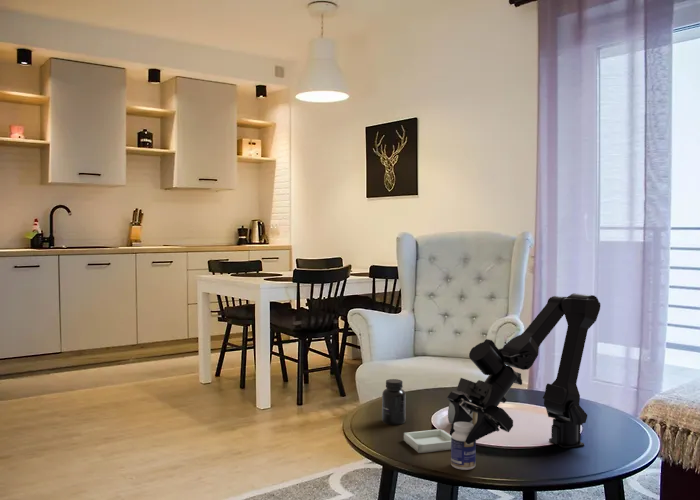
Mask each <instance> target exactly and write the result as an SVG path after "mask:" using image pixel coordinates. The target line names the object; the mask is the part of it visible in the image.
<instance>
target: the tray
mask: <svg viewBox="0 0 700 500" xmlns="http://www.w3.org/2000/svg"><path fill="white" fill-rule="evenodd" d="M403 441H404V442H405V443H406V444H407V445H409V447H411V448H412V449H413V450H414V451H416V452H417V453H418V454H424V453H425V454H426V453H432V452H442V451H448V450H449V451H451V435H450V433H448V432H447V431H446V430H444V429H442V428H437V429H429V430H428V429H427V430H420V431H410V432H403Z"/></svg>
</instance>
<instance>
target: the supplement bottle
mask: <svg viewBox="0 0 700 500" xmlns="http://www.w3.org/2000/svg"><path fill="white" fill-rule="evenodd" d="M403 386H404V385H403V381H402V380H401V379H397V378H391V379H386V381H385V389H384V390H383V391H382V395H381V397H382V399H381V402H382V403H381V405H382V406H381V421H382V422H383V424H386V425H391V426H399V425H402V424H404V423H405V422H406V413H407V411H406V409H407V408H406V407H407V406H406V405H407V404H406V402H407V400H406V399H407V398H406V396H407V395H406V391H405V390H404V389H403V388H404V387H403Z"/></svg>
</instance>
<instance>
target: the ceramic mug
mask: <svg viewBox="0 0 700 500" xmlns="http://www.w3.org/2000/svg"><path fill="white" fill-rule="evenodd" d="M468 400H469V401H470V402H471V400H470V399H468ZM476 409H477V408H476ZM469 415H470V416H471V418H472V419H473V420H472V421H471V422H469V423H472V424H473V425H475V424H476V422H477V417H478V413H475V412H472V413H471V414H469ZM454 416H455V408H454V406H453V404H452V403H451V402H450V401H449V404H448V409H447V420H448V423H450V425H452V423H453V420H454Z"/></svg>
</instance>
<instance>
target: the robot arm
mask: <svg viewBox="0 0 700 500" xmlns="http://www.w3.org/2000/svg"><path fill="white" fill-rule="evenodd" d="M600 310H601V302H600V301H599V299H598V297H597V296H596V295H594V294H593V295H591V294H584V293H571V294H569V295H568V296H558V295H554V296H553V295H552V296H551V297H548V300H547V303H546V304H545V306H544V307H543V308H542V309H541V310H540V312H539V313H538V314H537V315H536V317H534V319H533V320H532V321H531V323H530V324H529V325H528V326H527V328H526V329H525V330H524V331H523V332H522V333H520V334H519V335H517V336H515V337H513V338H511V339H510V340H508V342H507V343H506V344H504V345H503V347H500V348H498V347H497V345H496V344H495V342H494V341H493V340H492V339H488V338H486V339H485V340H484V341H483V342H480V343H477V344H476V345H475V346H473V347H472V348H471V349H470V351H469V355H468V357H469V359H470V361H472V362H473V364H474V365H475V366H476V367H477V368H478V369H479V371H480V372H481V373H482V374H483V375H485V376H487V378H486V379H485V380H484V381H483V380H480V379H478V380H477V381H476V382H474V381H472V380H468V379H466V378H463V377H460V378H459V381H458V384H457V387H456V389H455V390H456V391H455V390H454V391H450V392H449V394H448V396H446V399H447V400H448V402H449V403H450V402H451V403H452V404H453V406H454V408H455V416H454V420H453V423H452V424H451V427H450V430H449V434H450V435H451V436H452V433H453V432H455V430H454V423H455V422H471V421H472V420H473V419H472V418H471V416H470V415H469V414H471V413H472V412H475V413H478V417H477V422H476V424H475V425H474V427H473V428H472V430H471V432H470V433H469V435H468V437H467V439H466V441H465V442H466V443H467V444H470V443H472V442H474V441H476V442H477V441H478V440H480V439H482V438H484V437H486V436H487V435H490V434H492V433H494V432H499V431H500V430H502V431H504V432H506V433H510V431H511V430H512V429H513V427H514V420H513V418H512V417H510V415H509V414H508V413H507V412H506V410H504V409H503V407H500V406H499V405H500V403H503V404H505V403H506V402H507V399H506V397H505V396H507V395H506V394H507V393H508V392H509V391H510V389H511V387H512V386H513V385H514V384H516V385H520V386H522V385H523V379H522V373H520V372H516V371H515V370H514V369H519V370H521V371H522V370H523V371H524V370H525V371H526V370H529V369H531V367H533V365H534V363H535V362H536V360H537V358H538V356H539V352H540V351H539V350H540V349H539V348H540V346H541V344H542V343H543V342H544V341H545V339H546V338H547V336H548V335H549V334H550V333H551V332H552V331H553V329H554V328H555V326H556V325H557V324H558V323H559V321H560V320H561V319H562V318H563V317H565V321H566V323H567V329H566V332H565V338H564V343H563V345H562V346H563V347H562V351H561V356H560V361H559V366H558V371H557V375H556V378H555V379H554V380H553V382H552V383H546V385H545V389H544V390H545V391H544V394H543V397H542V399H543V406H544V407H545V409H546V413H547V417H548V418H552V425H551V438H548V441H549V442H551V443H553V444H555V443H556V444H555V445H557V444H559V446H558V447H561V448H562V449H569V448H578V447H584V446H585V443H584V442H582V441H581V428H582V427H581V426H583V424H586V423H587V419H588V414H587V413H586V411H585V410H584V409H583V408H582V407H581V406H580V402H581V400H580V399H581V395H580V392H579V389H578V385H577V382H578V378H579V377H578V376H579V373H580V367H581V364H582V363H581V362H582V358H583V355H584V349H585V344H586V340H587V334H588V330H589V329H590V328H591V327H592V326H593V324H595V323H596V321H597V319H598V317H599V313H600ZM461 392H462V393H461ZM463 393H464V394H463ZM465 394H466V395H465ZM469 400H471V402H470V401H469ZM476 408H477V409H476Z"/></svg>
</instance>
